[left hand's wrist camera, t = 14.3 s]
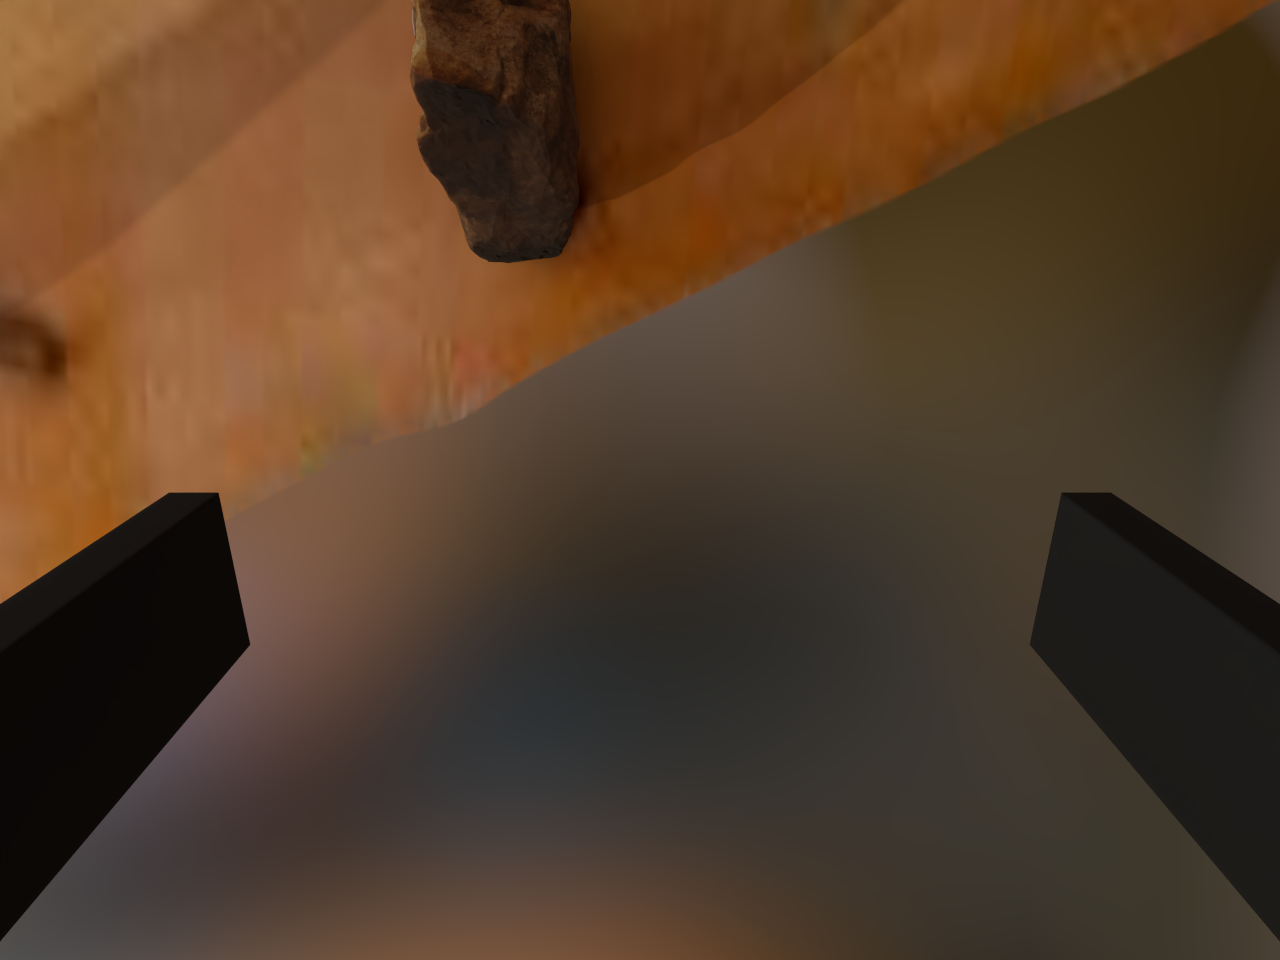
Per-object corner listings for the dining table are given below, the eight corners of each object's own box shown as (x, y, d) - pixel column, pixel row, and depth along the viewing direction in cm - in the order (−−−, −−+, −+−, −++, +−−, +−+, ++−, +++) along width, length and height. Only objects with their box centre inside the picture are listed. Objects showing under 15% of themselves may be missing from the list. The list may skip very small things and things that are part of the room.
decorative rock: (450, -29, 34) (370, -119, 24) (590, -22, 34) (569, -108, 24) (461, 256, 38) (397, 283, 28) (585, 262, 38) (565, 291, 28)
